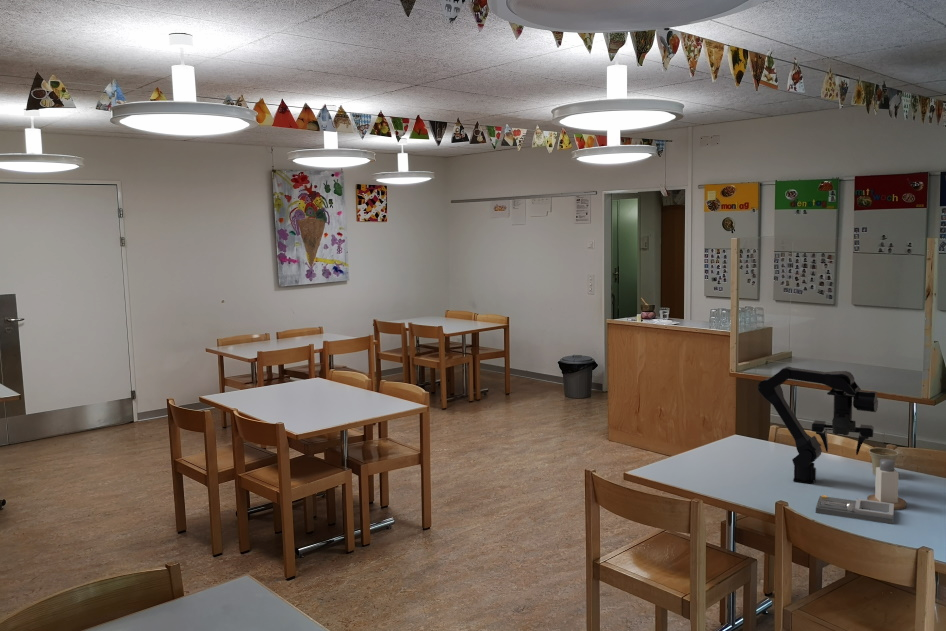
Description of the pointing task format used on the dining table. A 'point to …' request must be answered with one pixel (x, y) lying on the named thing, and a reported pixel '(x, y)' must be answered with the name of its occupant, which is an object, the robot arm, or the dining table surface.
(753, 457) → the dining table surface
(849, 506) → the lever
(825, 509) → the grey control panel
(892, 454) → the flower pot
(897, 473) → the white carton with cap
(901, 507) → the disc
